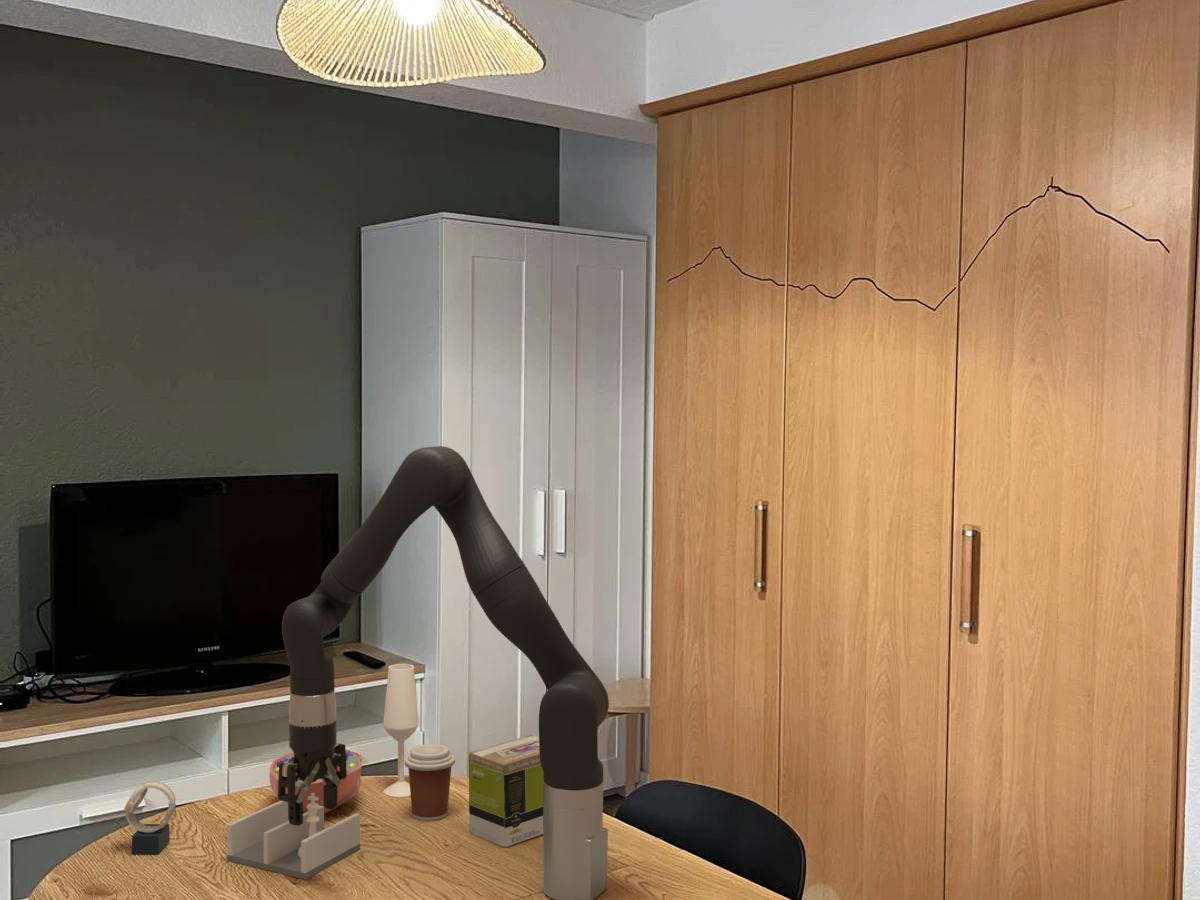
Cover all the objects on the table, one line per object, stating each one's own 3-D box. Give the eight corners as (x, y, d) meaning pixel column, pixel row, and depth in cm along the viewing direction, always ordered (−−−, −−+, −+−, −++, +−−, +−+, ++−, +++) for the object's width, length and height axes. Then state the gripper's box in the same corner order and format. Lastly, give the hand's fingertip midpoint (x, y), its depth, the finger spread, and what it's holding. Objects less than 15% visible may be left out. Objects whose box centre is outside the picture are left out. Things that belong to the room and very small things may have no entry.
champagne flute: (402, 799, 228) (402, 672, 227) (375, 792, 232) (375, 667, 231) (426, 789, 234) (426, 665, 233) (399, 782, 238) (399, 661, 236)
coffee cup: (398, 809, 223) (399, 744, 222) (447, 803, 227) (447, 739, 226) (411, 826, 215) (411, 759, 214) (461, 819, 218) (461, 753, 217)
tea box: (531, 812, 222) (532, 732, 222) (569, 827, 215) (570, 744, 214) (466, 833, 212) (467, 749, 211) (504, 849, 205) (504, 763, 204)
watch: (132, 842, 206) (131, 778, 205) (180, 842, 206) (179, 778, 206) (120, 855, 200) (119, 789, 200) (169, 855, 201) (168, 789, 200)
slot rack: (360, 849, 204) (360, 814, 204) (305, 879, 191) (304, 842, 191) (285, 832, 211) (285, 798, 211) (227, 860, 199) (227, 824, 198)
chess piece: (320, 860, 197) (320, 799, 196) (292, 857, 198) (292, 797, 197) (333, 848, 201) (333, 789, 201) (305, 846, 202) (305, 787, 202)
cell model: (248, 824, 215) (248, 761, 214) (296, 787, 234) (296, 729, 234) (339, 831, 212) (339, 767, 211) (380, 793, 231) (380, 735, 231)
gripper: (301, 732, 190) (302, 834, 191) (358, 710, 203) (359, 806, 204) (264, 726, 194) (265, 826, 194) (322, 705, 206) (323, 799, 207)
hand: (313, 816), depth 199 cm, fingers open, 8 cm apart
